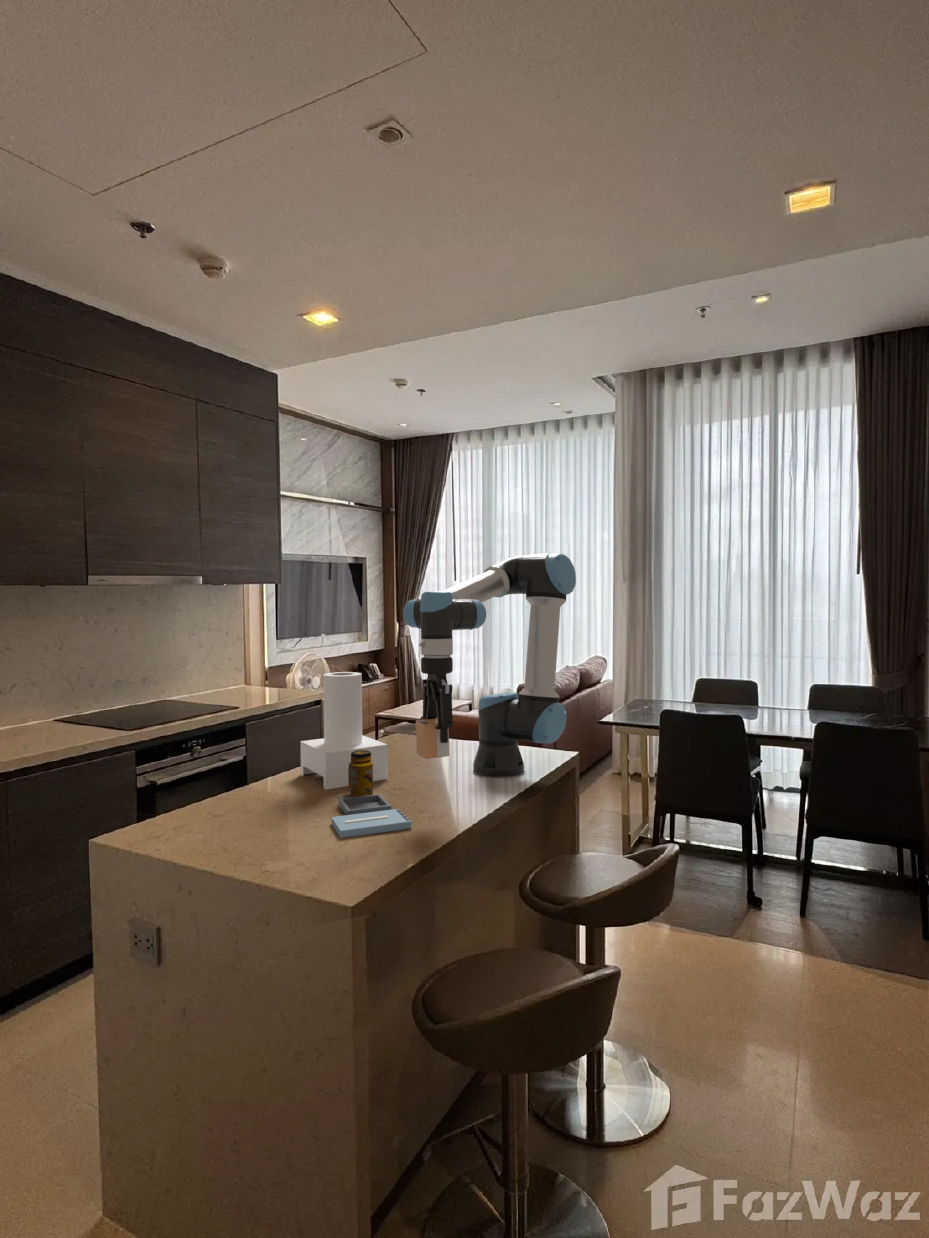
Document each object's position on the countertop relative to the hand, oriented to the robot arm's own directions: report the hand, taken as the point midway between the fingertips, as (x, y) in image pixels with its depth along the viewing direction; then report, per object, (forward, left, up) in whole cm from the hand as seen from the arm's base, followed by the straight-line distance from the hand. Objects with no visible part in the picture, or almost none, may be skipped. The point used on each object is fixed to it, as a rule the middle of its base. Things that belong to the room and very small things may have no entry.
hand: (437, 752), depth 164 cm
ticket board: (+17, +1, -15) cm, 23 cm away
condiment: (+14, -22, -15) cm, 30 cm away
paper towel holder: (+13, -44, -15) cm, 48 cm away
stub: (+1, 0, 0) cm, 1 cm away
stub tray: (+15, -11, -15) cm, 24 cm away
